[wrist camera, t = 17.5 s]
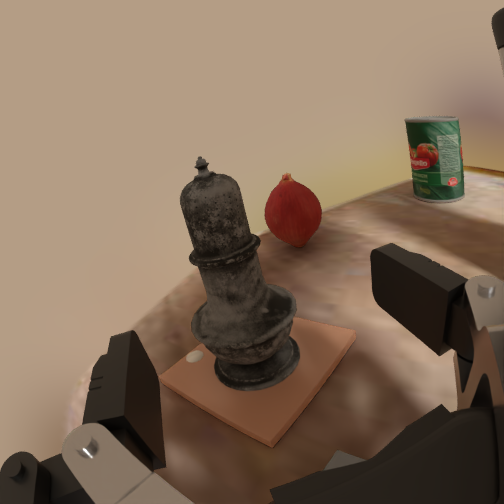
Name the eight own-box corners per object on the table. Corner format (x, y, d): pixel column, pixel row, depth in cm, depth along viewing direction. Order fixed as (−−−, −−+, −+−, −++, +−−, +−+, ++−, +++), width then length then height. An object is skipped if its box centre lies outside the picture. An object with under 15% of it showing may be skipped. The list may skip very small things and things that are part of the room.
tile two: (249, 311, 25) (247, 304, 25) (356, 338, 19) (355, 330, 19) (162, 383, 19) (158, 376, 19) (272, 448, 13) (269, 441, 13)
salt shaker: (201, 348, 21) (139, 171, 16) (282, 318, 22) (241, 141, 17) (222, 409, 15) (134, 182, 11) (323, 368, 17) (283, 140, 12)
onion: (262, 251, 35) (245, 180, 32) (302, 232, 38) (288, 165, 35) (296, 264, 31) (279, 182, 27) (337, 241, 33) (325, 166, 30)
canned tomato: (472, 192, 38) (466, 116, 33) (450, 206, 35) (443, 119, 30) (429, 185, 44) (421, 116, 40) (403, 197, 41) (393, 120, 37)
